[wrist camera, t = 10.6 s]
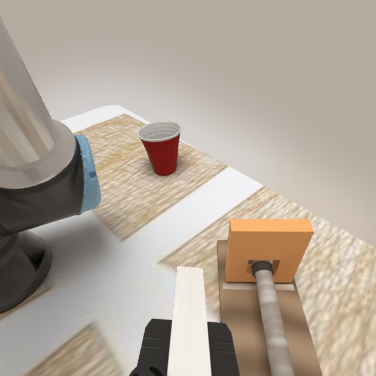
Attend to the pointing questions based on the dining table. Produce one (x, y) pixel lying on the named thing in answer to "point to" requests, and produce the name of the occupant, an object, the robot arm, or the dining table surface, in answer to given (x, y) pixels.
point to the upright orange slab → (266, 247)
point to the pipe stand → (266, 322)
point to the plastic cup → (161, 145)
